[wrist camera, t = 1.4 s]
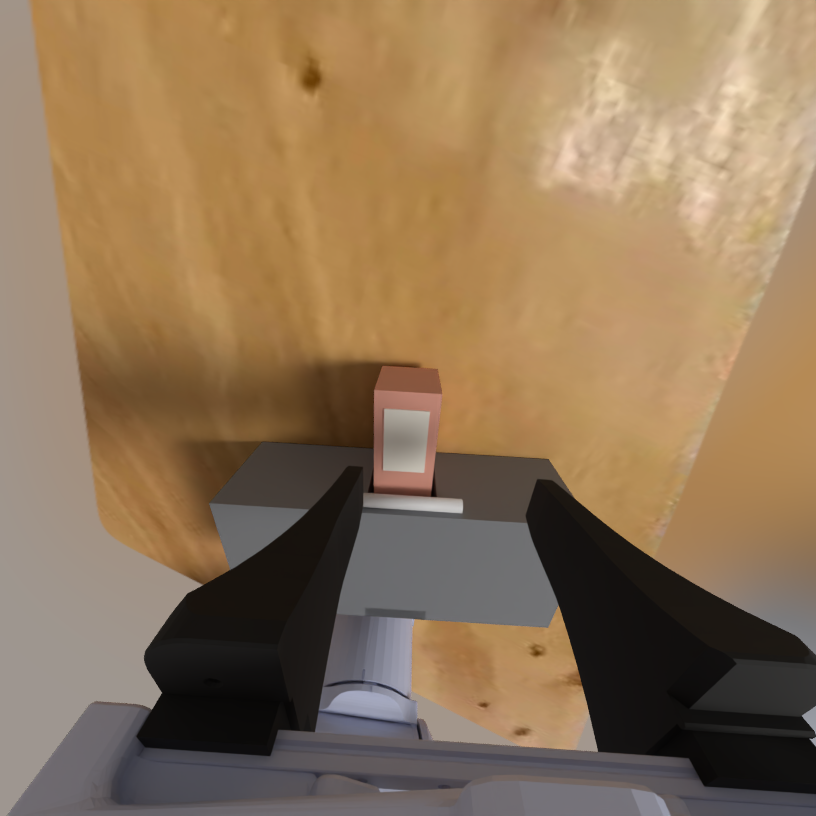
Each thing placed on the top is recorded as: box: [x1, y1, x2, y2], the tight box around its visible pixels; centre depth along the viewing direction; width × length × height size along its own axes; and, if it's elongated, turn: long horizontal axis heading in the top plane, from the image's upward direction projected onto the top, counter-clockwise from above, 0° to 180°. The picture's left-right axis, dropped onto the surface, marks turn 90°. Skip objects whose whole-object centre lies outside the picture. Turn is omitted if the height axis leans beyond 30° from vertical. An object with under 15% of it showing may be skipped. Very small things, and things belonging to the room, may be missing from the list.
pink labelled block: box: [374, 366, 442, 497], centre depth 20 cm, size 12×4×4 cm, turn 177°
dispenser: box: [209, 442, 575, 628], centre depth 22 cm, size 11×22×6 cm, turn 87°
